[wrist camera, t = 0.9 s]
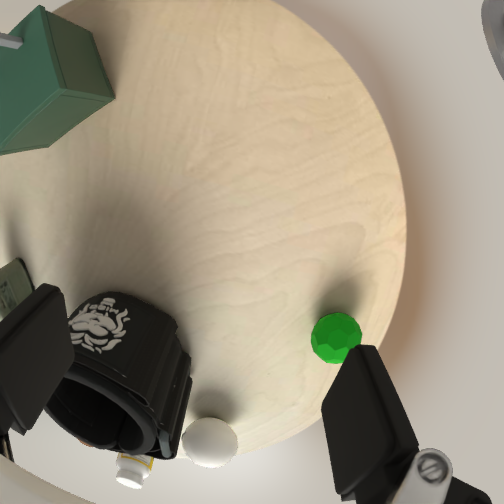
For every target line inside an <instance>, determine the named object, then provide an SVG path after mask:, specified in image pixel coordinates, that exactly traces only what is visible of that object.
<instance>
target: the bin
mask: <svg viewBox="0 0 504 504" xmlns="http://www.w3.org/2000/svg"><path fill="white" fill-rule="evenodd" d="M46 16H47V20H48V25H49V29H50V33H51V37H52V41H53V45H54V49H55V52H56V56H57V59H58V63H59V66H60V70H61V73H62V76H63V80H64V83H65V86H66V90H65V91H63V92H62V93H61V94H60V95H59V96H57V97H56V98H55V99H54V100H52V101H51V102H50V103H49V104H48V105H47V106H46V107H44V108H43V109H42V110H41V111H40V112H39V113H38V114H37V115H35V116H34V117H33V118H32V119H31V120H30V121H29V122H28V123H27V124H26V125H25V126H24V127H23V128H22V129H21V130H20V131H19V132H18V133H17V134H16V135H15V136H14V137H13V138H12V139H11V140H10V141H9V142H8V143H7V144H6V145H5V146H4V148H3V149H2V150H1V151H0V156H1V155H6V154H11V153H16V152H22V151H27V150H33V149H40V148H47V147H49V146H51V145H52V144H53V143H54V142H55V141H57V140H58V139H59V138H60V137H62V136H63V135H64V134H66V133H67V132H68V131H69V130H71V129H72V128H73V127H75V126H76V125H77V124H79V123H80V122H82V121H83V120H84V119H86V118H87V117H89V116H90V115H91V114H93V113H94V112H96V111H97V110H99V109H100V108H102V107H103V106H105V105H106V104H108V103H109V102H111V101H112V100H114V99H115V96H114V93H113V91H112V88H111V86H110V83H109V80H108V78H107V75H106V72H105V70H104V67H103V64H102V62H101V59H100V56H99V53H98V50H97V47H96V45H95V42H94V39H93V36H92V33H91V32H90V31H88V30H86V29H84V28H82V27H80V26H78V25H76V24H74V23H72V22H70V21H68V20H66V19H64V18H61V17H59V16H57V15H55V14H53V13H51V12H48V11H46Z"/></svg>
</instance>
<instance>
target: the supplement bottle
mask: <svg viewBox="0 0 504 504" xmlns="http://www.w3.org/2000/svg"><path fill="white" fill-rule="evenodd" d="M153 459H154V458H153V457H150V456H145V455H135V456H132V455H129V454H125V453H119V454H118V457H117V460H116V465H117V467H118V469H119V471H118V473H117V476H116V480H117V481H118V482H120V483H121V484H123V485H125V486H128V487H131V488H136V489H140V488H142V485H143V481H144V480H143V478H146V477H148V476H149V475H150V472H151V468H152V464H153Z"/></svg>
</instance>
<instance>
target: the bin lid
mask: <svg viewBox="0 0 504 504" xmlns="http://www.w3.org/2000/svg"><path fill="white" fill-rule="evenodd" d="M65 90H66V86H65V83H64V80H63V76H62V73H61V70H60V66H59V63H58V59H57V56H56V52H55V49H54V45H53V41H52V37H51V33H50V29H49V25H48V20H47V16H46V11H45V7H43V6H41V5H38V6H37V7H36V8H35V9H34V10H33V11H32V12H30V13H29V14H28V15H27V16H26V17H25V18H24V19H23V20H22V21H21V22H20V23H19V24H18V25H17V26H16V27H15V28H14V29H13V30H12V31H11V32H10V33H9V34H4V33H0V151H1V150H2V149H3V148H4V146H5V145H6V144H7V143H8V142H9V141H10V140H11V139H12V138H13V137H14V136H15V135H16V134H17V133H18V132H19V131H20V130H21V129H22V128H23V127H24V126H25V125H26V124H27V123H28V122H29V121H30V120H31V119H32V118H33V117H34V116H35V115H37V114H38V113H39V112H40V111H41V110H42V109H43V108H44V107H46V106H47V105H48V104H49V103H50V102H51V101H52V100H54V99H55V98H56V97H57V96H59V95H60V94H61V93H62V92H63V91H65Z"/></svg>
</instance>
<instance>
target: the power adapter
mask: <svg viewBox="0 0 504 504" xmlns="http://www.w3.org/2000/svg"><path fill="white" fill-rule="evenodd" d="M33 291H35V288H34V286H33V284H32V282H31V279H30V277H29V275H28V272H27V269H26V267H25V264H24V262H23V261H22V260H21V259H20V258H16V259H15V260H13V261H12V262H10V263H8V264H7V265H5V266H4V267H2V268H1V269H0V322H1V321H2V320H3V319H4V318H5V317H6V316H7V315H8V314H9V313H10V312H11V311H12V310H13V309H14V308H15V307H17V306H18V305H19V304H20V303H21V302H22V301H23V300H24V299H25V298H27V297H28V296H29V295H30V294H31V293H32V292H33Z"/></svg>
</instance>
